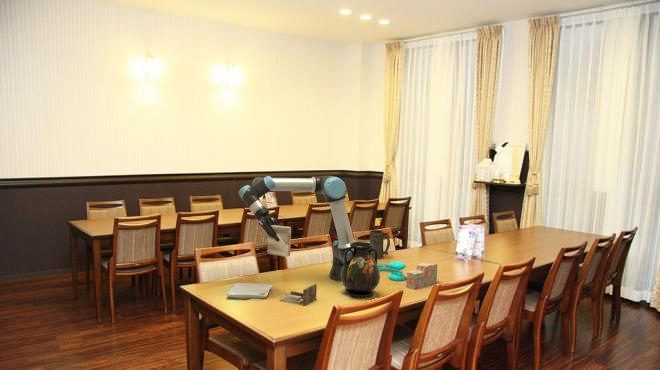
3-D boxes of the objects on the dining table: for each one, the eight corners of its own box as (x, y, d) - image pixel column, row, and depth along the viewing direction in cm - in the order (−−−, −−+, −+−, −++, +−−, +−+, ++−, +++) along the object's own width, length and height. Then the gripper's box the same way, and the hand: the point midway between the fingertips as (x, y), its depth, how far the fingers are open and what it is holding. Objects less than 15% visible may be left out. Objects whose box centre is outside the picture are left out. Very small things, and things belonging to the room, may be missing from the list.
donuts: (403, 265, 297) (387, 263, 300) (402, 282, 297) (386, 280, 301) (407, 262, 306) (391, 260, 309) (406, 278, 307) (390, 276, 310)
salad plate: (235, 288, 275) (235, 282, 275) (273, 289, 275) (273, 283, 274) (225, 300, 254) (226, 293, 254) (267, 302, 253) (267, 295, 253)
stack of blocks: (414, 290, 282) (415, 268, 281) (406, 287, 287) (407, 266, 286) (436, 283, 297) (437, 263, 296) (428, 281, 301) (429, 261, 300)
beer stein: (366, 258, 354) (369, 231, 353) (367, 255, 365) (370, 228, 363) (387, 261, 352) (391, 234, 350) (388, 258, 363) (391, 231, 361)
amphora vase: (346, 301, 257) (348, 248, 255) (334, 289, 278) (336, 240, 275) (385, 299, 263) (387, 247, 261) (370, 287, 284) (372, 239, 281)
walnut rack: (291, 296, 263) (292, 279, 262) (317, 301, 256) (317, 284, 256) (279, 302, 252) (279, 285, 251) (305, 307, 245) (305, 290, 244)
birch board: (270, 252, 265) (271, 224, 263) (290, 255, 259) (291, 227, 258) (267, 253, 262) (267, 225, 260) (286, 256, 256) (287, 228, 255)
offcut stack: (287, 298, 255) (287, 293, 255) (304, 302, 251) (304, 297, 251) (282, 301, 251) (282, 296, 251) (299, 304, 247) (299, 299, 247)
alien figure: (402, 275, 315) (396, 267, 335) (402, 271, 315) (397, 264, 335) (370, 274, 314) (367, 266, 334) (371, 271, 314) (367, 263, 334)
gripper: (264, 213, 273) (289, 246, 267) (246, 216, 258) (272, 252, 252) (272, 204, 270) (297, 238, 264) (254, 207, 255) (281, 243, 249)
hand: (285, 244), depth 258 cm, fingers closed on birch board, 3 cm apart
